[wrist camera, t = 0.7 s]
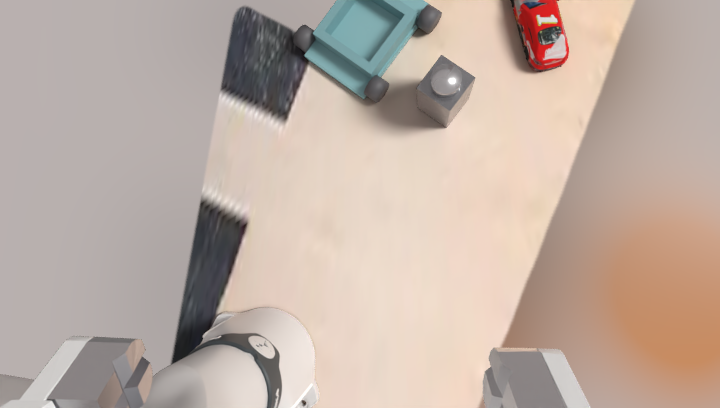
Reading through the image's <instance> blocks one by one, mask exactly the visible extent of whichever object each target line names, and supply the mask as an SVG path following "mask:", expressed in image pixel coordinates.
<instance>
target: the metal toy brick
mask: <svg viewBox="0 0 720 408" xmlns="http://www.w3.org/2000/svg"><path fill="white" fill-rule="evenodd" d="M474 81H475V77H474V76H472V75H471V74H469V73H468V72H466V71H465V70H463V69H462V68H460V67H459V66H457V65H456V64H454V63H453V62H451V61H450V60H448V59H447V58H445V57H444V56H442V55H441V56H440V57H439V59H438V60H437V61H436V63H435V64H434V65H433V67H432V68H431V69H430V71H429V72H428V73H427V75H426V76H425V77H424V79H423V80H422V81H421V83H420V84H419V85H418V87H417V88H416V90H417V105H418V108H419V109H420V110H421V111H423V112H424V113H426V114H427V115H429V116H430V117H431V118H433V119H434V120H436V121H437V122H438V123H440V124H441V125H443V126H444V127H446V128H447V127H448V125H449V124H450V123H451V121H452V120H453V119H454V117H455V116H456V115H457V113H458V112H459V111H460V110H461V108H462V107H463V106H464V104H465V103H466V102H467V100H468V99H469V96H470V93H471V90H472V87H473V84H474Z"/></svg>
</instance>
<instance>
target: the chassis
mask: <svg viewBox="0 0 720 408" xmlns="http://www.w3.org/2000/svg"><path fill="white" fill-rule="evenodd" d="M441 14H442V13H441V12H440V11H439V10H437V9H436V8H434V7H433V6H431V5H430V4H428V3H426V2H425V1H423V0H337V1H336V2H335V3H334V5H333V6H332V8H331V9H330V10H329V12H328V13H327V15H326V16H325V17H324V19H323V20H322V21H321V22H320V24H319V25H318V27H317V28H316V29H315V31H314V30H312V29H311V28H309V27H308V26H306V25H302V26H301V27H300V28H299V29H298V30H297V31H296V33H295V35H294V39H293V43H294V45H296V46H297V47H299V48H300V49H301V50H303V51H304V52H306V54H305V55H304V56H305V58H306V59H308V60H309V61H310V62H312V63H313V64H315V65H316V66H317V67H319V68H320V69H322V70H323V71H324V72H326V73H327V74H329V75H330V76H331V77H333V78H334V79H336V80H337V81H338V82H340V83H341V84H343V85H344V86H345V87H347V88H348V89H350V90H351V91H352V92H354V93H355V94H356V95H358V96H359V97H361V98H362V99H363V100H364V99H365V98H366V97H368V98H370V99H371V100H373V101H374V102H375V103H377V102H379V101H380V100H381V99H382V98H383V96H384V95H385V93H386V92H387V90H388V87H389V83H388V82H386V81H385V80H384V79H382V78H381V76H382V75H383V74H384V72H385V71H386V70H387V68H388V67H389V66H390V64H391V63H392V62H393V60H394V59H395V58H396V56H397V55H398V54H399V52H400V51H401V50H402V48H403V47H404V46H405V44H406V43H407V42H408V40H409V39H410V38H411V36H412V35H413V34H414V32H415V31H416V30H417V28H418V27H419V28H420V29H422V30H423V31H425V32H426V33H428V34H429V33H431V32H432V31H433V29H434V28H435V27H436V25H437V24H438V22H439V20H440V18H441Z"/></svg>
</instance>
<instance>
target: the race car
mask: <svg viewBox="0 0 720 408" xmlns="http://www.w3.org/2000/svg"><path fill="white" fill-rule="evenodd" d="M557 1H559V0H511V2H512V7H513V8H514V9H513V11H514V15H515V18H516V22H517V26H518V29H519V33H520V37H521V41H522V44H523V47H525V48H524V52H525V54H526V59H527V60H529V61H528V63H529V65H530V67H531V68H532V69H533V70H535V71H540V72H541V71H543V70H544V71H546V70H550V69H554V68H557V67H561V65H563V64H564V63H565V61H566V60H567V58H568V54H569V47H568V41H567V37H566V34H565V30H564V26H563V22H562V19H561V15H560V11H559V8H558V4H557Z"/></svg>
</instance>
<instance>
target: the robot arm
mask: <svg viewBox="0 0 720 408" xmlns="http://www.w3.org/2000/svg"><path fill="white" fill-rule="evenodd" d="M145 350H146V349H145V347H144V344H143V342H142V340H140V339H126V338H125V339H124V338H106V337H84V336H72V337H70V338H69V339H67V340H66V341H65V342H64V343H63V344H62V345H61V347H60V348H59V349H58V351H57V352H56V353H55V354H54V356H53V357H52V358H51V359H50V361H49V362H48V363H47V365H46V366H45V367H44V368H43V370H42V371H41V372H40V374H39V375H38V376H37V378H36V379H35V380H32V379H26V378H20V377H14V376H9V375H0V408H312V407H313V406H314V405H315V404H316V403H317V402H318V400H319V390H318V387H317V383H316V380H315V351H314V346H313V343H312V340H311V338H310V336H309V334H308V332H307V330H306V329H305V328H304V326H303V325H302V324H301V323H300V322H299V321H298V320H297V319H296V318H295V317H293V316H292V315H290V314H289V313H287V312H285V311H282V310H279V309H276V308H269V307H263V308H256V309H252V310H249V311H246V312H243V313H236V312H223V313H221V314H220V315H218V316H217V317H216V319H215V321H214V323H213V325H212V327H211V329H210V330H209V331H207V332H206V333H205V334H204V335H203V340H202V342H201V344H200V345H199V346H197V347H196V348H195V349H194V350H192V351H191V352H190V353H189V354H188V355H187V356H186V357H185V358H183V359H181V360H179V361H177V362H175V363H173V364H172V365H170V366H168V367H166V368H164V369H162V370H161V371H159V372H158V373H156V374H155V375H154V376H153V377H152V368H151V365H150V362H148V361H147V360H146V359H144V358H143V357H142V355H143V354H144V352H145ZM489 361H490V365H491V367H490V368H489V369H488V370H486V371H485V374H484V379H483V397H484V403H485V407H486V408H591V407H590V405H589V403H588V401H587V400H586V397H585V395H584V393H583V392H582V389H581V387H580V385H579V383H578V382H577V380H576V378H575V376H574V374H573V372H572V370H571V368H570V366H569V364H568V362H567V360H566V358H565V356H564V354H563V353H562V352H561V351H560V350H559V349H535V348H493V349H492V350H491V352H490V356H489ZM302 400H305V401H306V404H303V403H302Z"/></svg>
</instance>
